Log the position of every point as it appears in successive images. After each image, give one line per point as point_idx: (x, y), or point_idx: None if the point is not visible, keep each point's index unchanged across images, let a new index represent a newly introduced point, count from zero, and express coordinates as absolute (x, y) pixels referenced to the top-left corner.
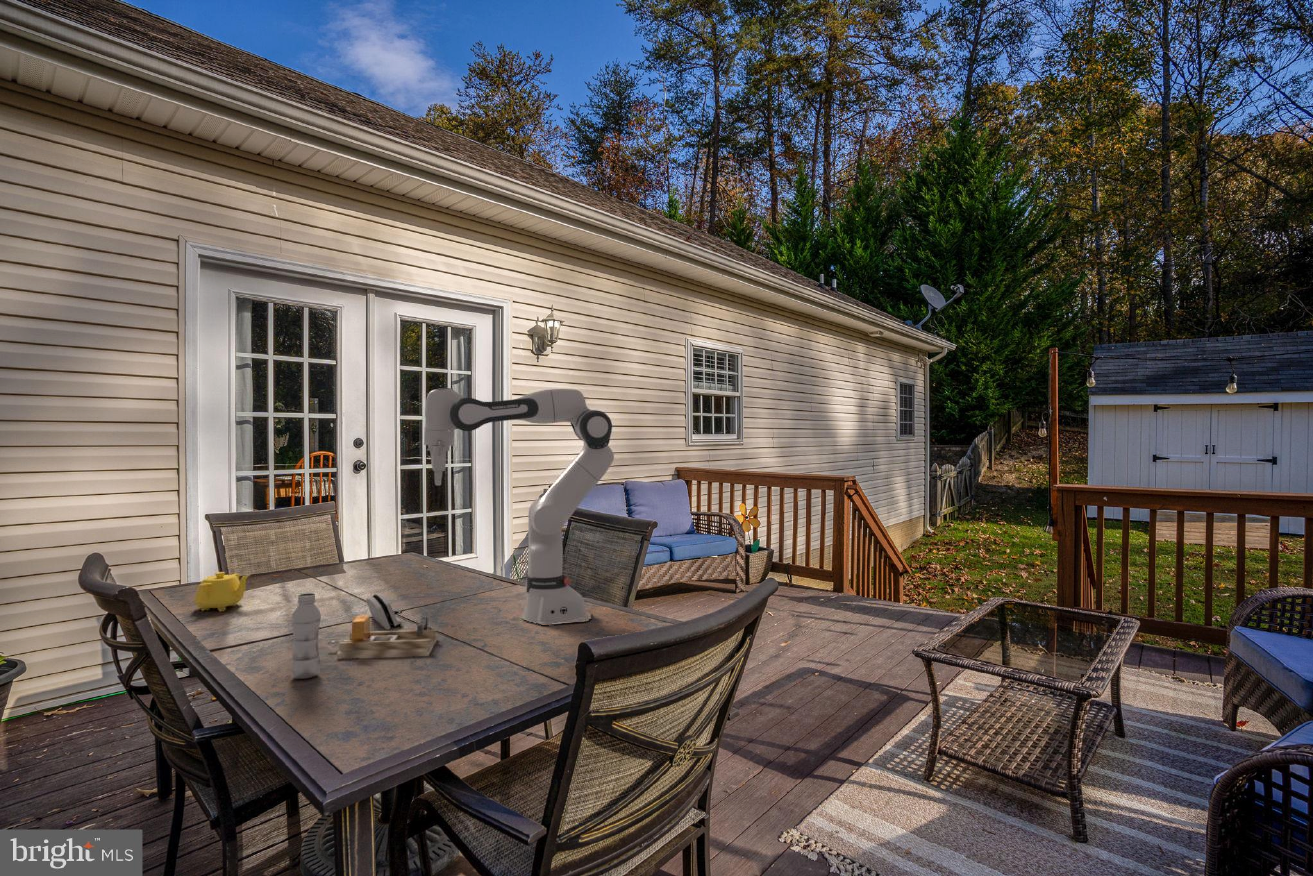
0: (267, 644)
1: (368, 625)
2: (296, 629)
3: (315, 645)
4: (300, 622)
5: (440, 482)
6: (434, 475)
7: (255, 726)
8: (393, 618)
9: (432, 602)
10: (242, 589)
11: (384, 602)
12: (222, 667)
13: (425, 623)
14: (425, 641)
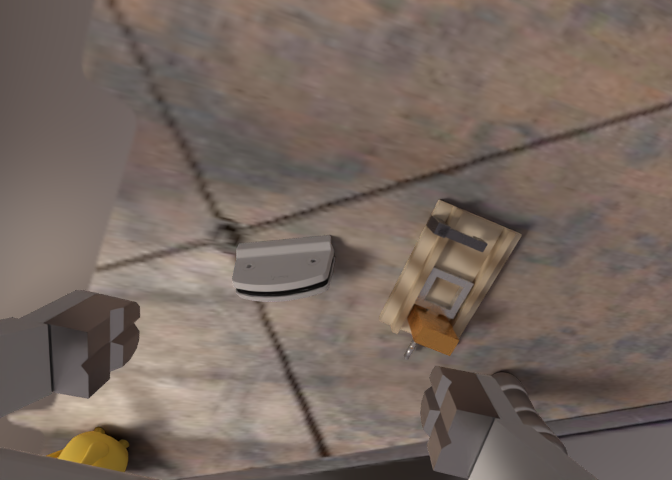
0: (330, 407)
1: (428, 321)
2: None
3: (533, 407)
4: None
5: (500, 402)
6: (11, 410)
7: (621, 430)
8: (331, 257)
9: (174, 147)
10: (99, 451)
11: (316, 283)
12: (402, 448)
13: (459, 231)
14: (511, 239)
